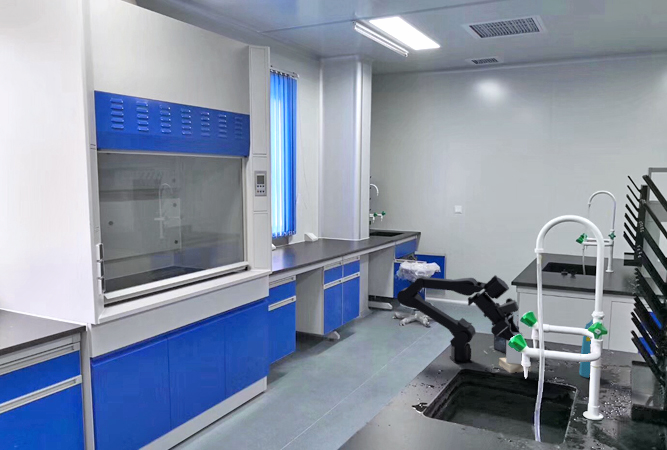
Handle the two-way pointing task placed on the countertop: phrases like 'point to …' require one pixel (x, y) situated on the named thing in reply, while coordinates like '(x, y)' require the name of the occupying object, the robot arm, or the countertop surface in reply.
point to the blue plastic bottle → (585, 350)
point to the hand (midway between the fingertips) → (519, 339)
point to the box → (500, 343)
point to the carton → (513, 353)
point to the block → (511, 366)
